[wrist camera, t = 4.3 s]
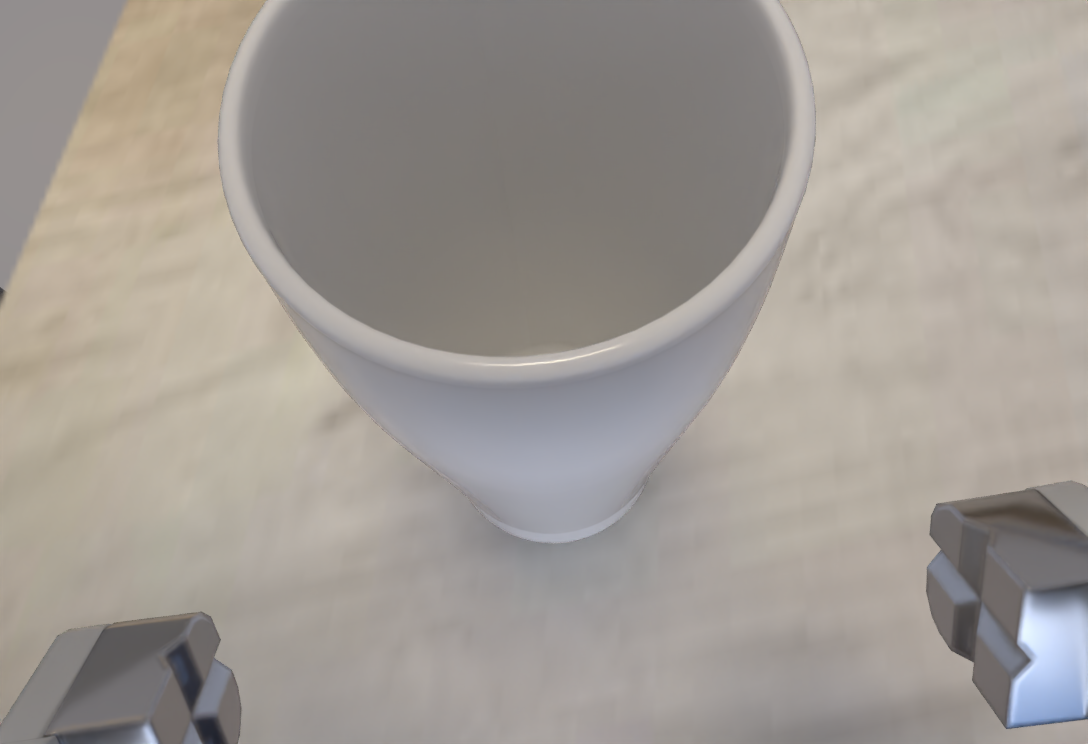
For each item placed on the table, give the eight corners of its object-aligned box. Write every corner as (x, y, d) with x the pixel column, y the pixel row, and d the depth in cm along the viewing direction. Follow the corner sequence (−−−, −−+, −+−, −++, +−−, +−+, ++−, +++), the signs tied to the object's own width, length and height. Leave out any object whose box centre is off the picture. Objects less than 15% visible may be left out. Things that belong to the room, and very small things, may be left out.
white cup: (515, 292, 25) (431, -208, 11) (724, 407, 24) (931, 2, 10) (380, 489, 23) (74, 191, 9) (597, 627, 22) (625, 522, 8)
